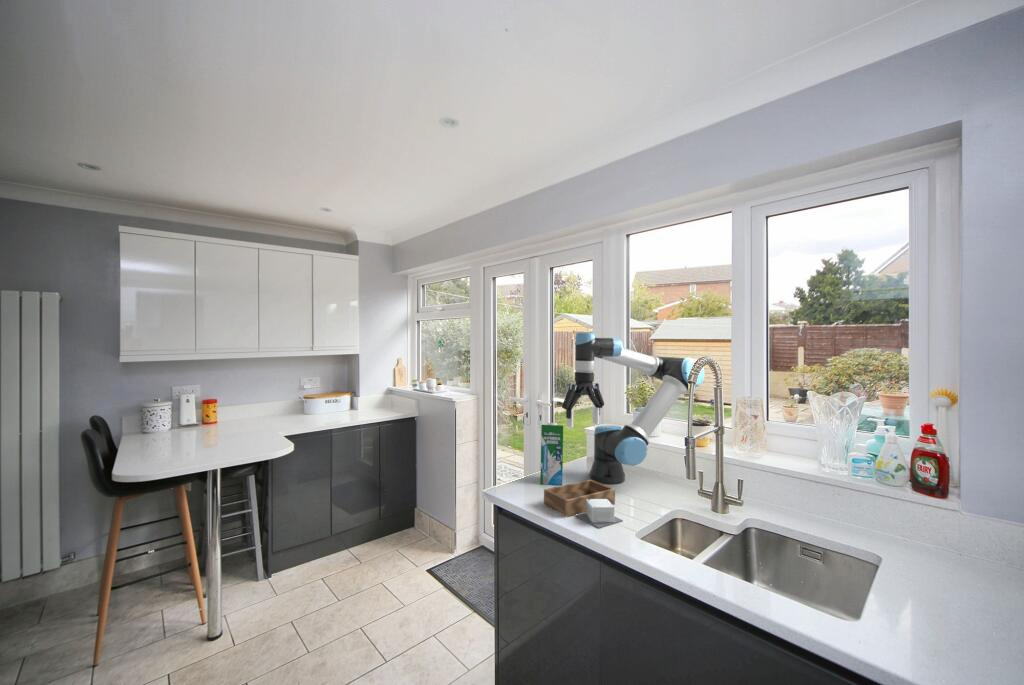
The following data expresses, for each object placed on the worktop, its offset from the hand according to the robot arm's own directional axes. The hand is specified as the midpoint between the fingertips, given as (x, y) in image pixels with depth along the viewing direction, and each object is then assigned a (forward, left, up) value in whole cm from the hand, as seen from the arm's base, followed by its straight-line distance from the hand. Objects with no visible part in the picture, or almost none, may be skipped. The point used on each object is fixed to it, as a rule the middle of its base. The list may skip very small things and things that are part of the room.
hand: (583, 425), depth 169 cm
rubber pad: (+12, +22, -27) cm, 36 cm away
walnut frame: (+9, +9, -27) cm, 29 cm away
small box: (+12, +22, -26) cm, 36 cm away
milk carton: (+2, -17, -27) cm, 32 cm away
